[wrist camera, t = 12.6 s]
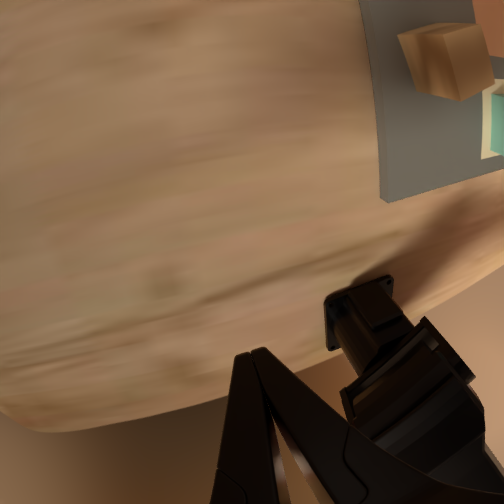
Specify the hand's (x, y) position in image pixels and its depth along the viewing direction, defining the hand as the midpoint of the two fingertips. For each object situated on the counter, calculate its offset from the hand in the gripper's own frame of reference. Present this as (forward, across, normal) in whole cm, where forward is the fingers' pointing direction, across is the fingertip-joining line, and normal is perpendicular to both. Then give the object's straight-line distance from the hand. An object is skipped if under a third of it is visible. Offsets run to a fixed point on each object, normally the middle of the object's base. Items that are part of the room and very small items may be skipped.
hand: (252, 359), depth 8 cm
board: (+12, -21, -6) cm, 25 cm away
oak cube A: (+11, -16, -6) cm, 21 cm away
